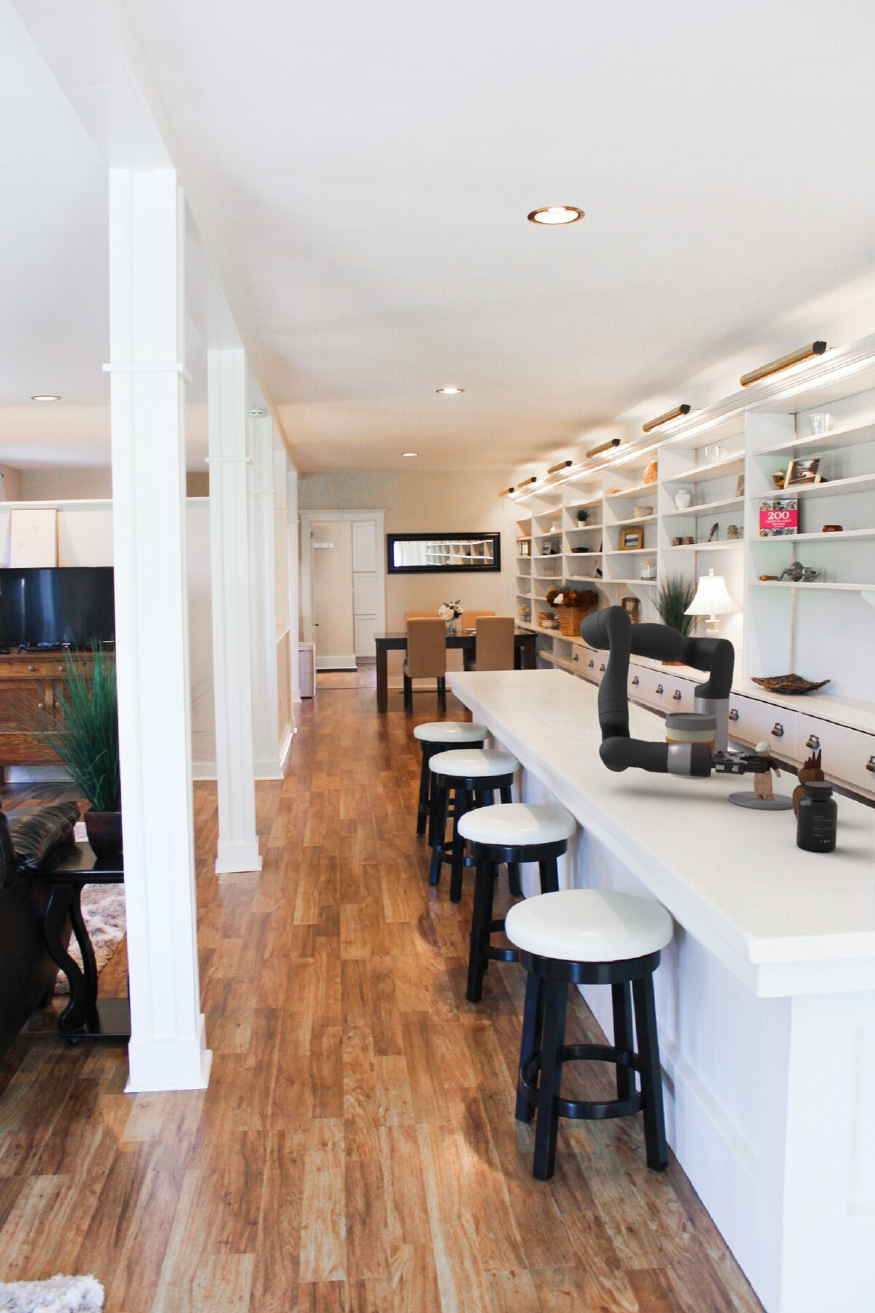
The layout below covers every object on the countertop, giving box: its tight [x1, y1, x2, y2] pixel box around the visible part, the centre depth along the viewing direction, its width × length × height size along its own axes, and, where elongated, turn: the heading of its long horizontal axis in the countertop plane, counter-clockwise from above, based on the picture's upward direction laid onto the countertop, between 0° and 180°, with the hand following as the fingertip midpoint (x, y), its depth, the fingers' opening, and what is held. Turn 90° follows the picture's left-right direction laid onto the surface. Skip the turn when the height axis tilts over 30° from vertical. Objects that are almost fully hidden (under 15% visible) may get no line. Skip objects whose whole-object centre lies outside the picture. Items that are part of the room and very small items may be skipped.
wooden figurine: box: [791, 748, 826, 819], centre depth 191 cm, size 7×6×15 cm
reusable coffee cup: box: [664, 712, 717, 780], centre depth 235 cm, size 13×13×15 cm
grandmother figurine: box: [746, 740, 782, 800], centre depth 207 cm, size 8×4×13 cm, turn 73°
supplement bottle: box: [795, 781, 839, 854], centre depth 172 cm, size 7×7×12 cm
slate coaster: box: [728, 791, 793, 811], centre depth 208 cm, size 14×14×1 cm
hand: (765, 764), depth 207 cm, fingers open, 8 cm apart
